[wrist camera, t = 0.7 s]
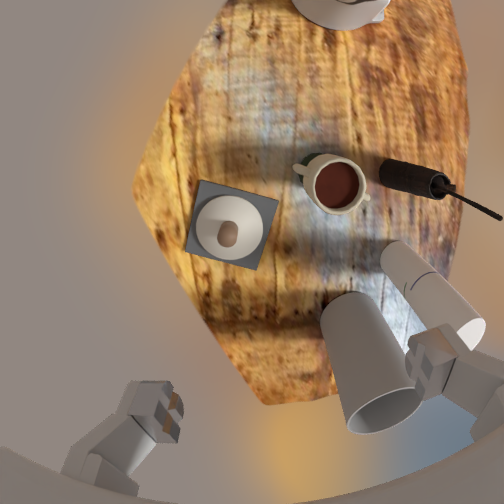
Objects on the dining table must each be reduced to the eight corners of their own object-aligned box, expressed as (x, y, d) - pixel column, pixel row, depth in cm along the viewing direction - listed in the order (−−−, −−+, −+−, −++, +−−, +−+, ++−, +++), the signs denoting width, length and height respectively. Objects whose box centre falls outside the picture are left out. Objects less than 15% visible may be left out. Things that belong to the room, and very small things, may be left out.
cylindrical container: (416, 249, 48) (492, 323, 26) (398, 278, 51) (461, 363, 28) (391, 235, 47) (470, 312, 24) (373, 267, 50) (436, 357, 27)
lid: (205, 187, 44) (199, 194, 39) (271, 205, 45) (273, 214, 40) (191, 248, 48) (185, 260, 44) (252, 264, 49) (252, 278, 45)
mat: (201, 179, 44) (200, 180, 43) (278, 200, 45) (278, 201, 45) (185, 250, 49) (185, 251, 48) (256, 268, 50) (256, 270, 50)
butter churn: (424, 158, 41) (544, 201, 16) (407, 205, 45) (513, 280, 19) (384, 137, 40) (509, 162, 15) (367, 188, 44) (473, 260, 18)
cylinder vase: (307, 326, 56) (329, 430, 33) (344, 280, 51) (392, 380, 28) (350, 344, 58) (382, 436, 35) (386, 304, 54) (437, 393, 31)
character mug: (277, 179, 44) (286, 198, 32) (293, 139, 41) (308, 141, 29) (337, 202, 45) (365, 228, 33) (353, 164, 42) (387, 178, 30)
